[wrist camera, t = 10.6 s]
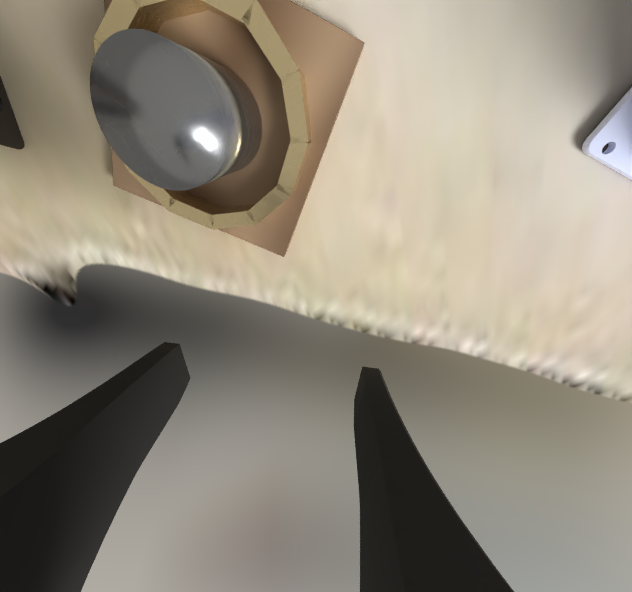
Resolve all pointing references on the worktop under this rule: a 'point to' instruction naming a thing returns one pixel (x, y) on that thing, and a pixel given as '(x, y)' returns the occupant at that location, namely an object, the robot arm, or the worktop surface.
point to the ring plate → (271, 96)
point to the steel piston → (172, 111)
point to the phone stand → (8, 123)
